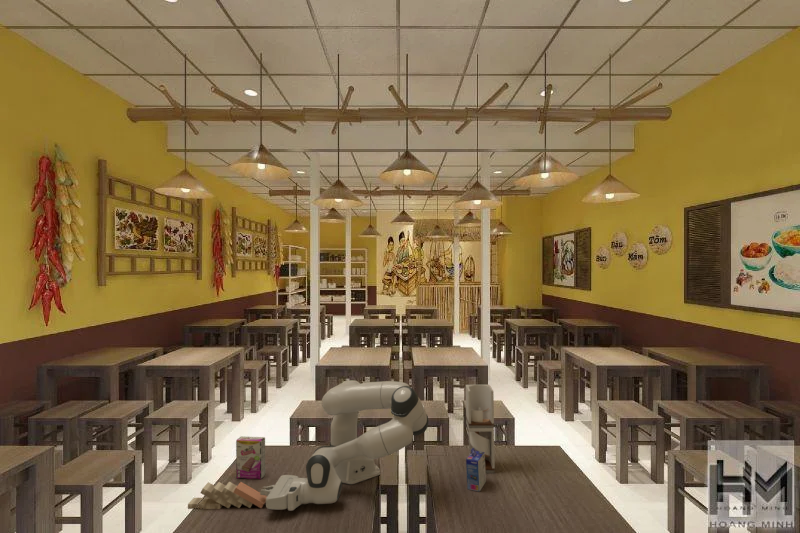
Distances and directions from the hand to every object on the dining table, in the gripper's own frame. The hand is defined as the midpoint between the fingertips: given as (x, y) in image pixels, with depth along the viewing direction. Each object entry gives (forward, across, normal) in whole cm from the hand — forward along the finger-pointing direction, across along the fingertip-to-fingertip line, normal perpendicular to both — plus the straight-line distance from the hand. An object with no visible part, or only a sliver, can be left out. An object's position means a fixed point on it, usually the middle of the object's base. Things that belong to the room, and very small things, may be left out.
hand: (261, 490), depth 178 cm
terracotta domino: (-1, 0, +5) cm, 5 cm away
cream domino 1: (+15, 0, +5) cm, 15 cm away
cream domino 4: (+3, 0, +4) cm, 6 cm away
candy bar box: (+13, -25, +6) cm, 28 cm away
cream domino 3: (+7, 0, +5) cm, 8 cm away
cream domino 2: (+11, 0, +5) cm, 12 cm away
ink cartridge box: (-82, -17, +6) cm, 84 cm away
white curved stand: (-86, -34, +6) cm, 93 cm away
